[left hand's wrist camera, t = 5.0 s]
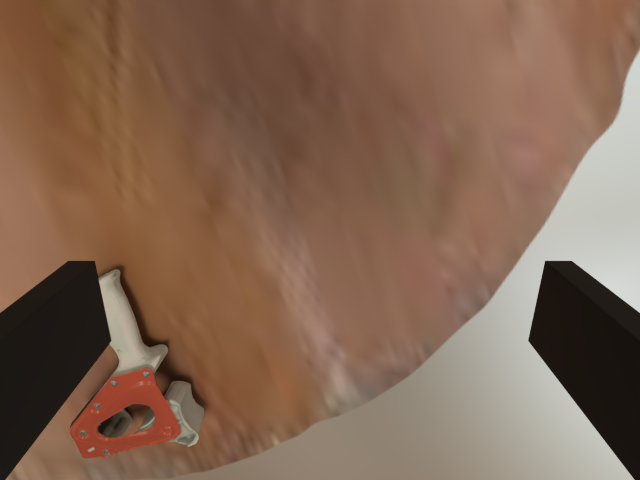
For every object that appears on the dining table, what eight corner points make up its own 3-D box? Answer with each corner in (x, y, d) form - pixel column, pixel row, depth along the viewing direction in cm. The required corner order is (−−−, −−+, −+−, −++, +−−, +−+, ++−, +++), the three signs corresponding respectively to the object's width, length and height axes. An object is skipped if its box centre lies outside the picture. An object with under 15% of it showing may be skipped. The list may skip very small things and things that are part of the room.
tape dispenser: (110, 251, 44) (39, 392, 49) (82, 269, 39) (7, 425, 44) (260, 332, 47) (178, 458, 52) (252, 359, 42) (162, 497, 47)
